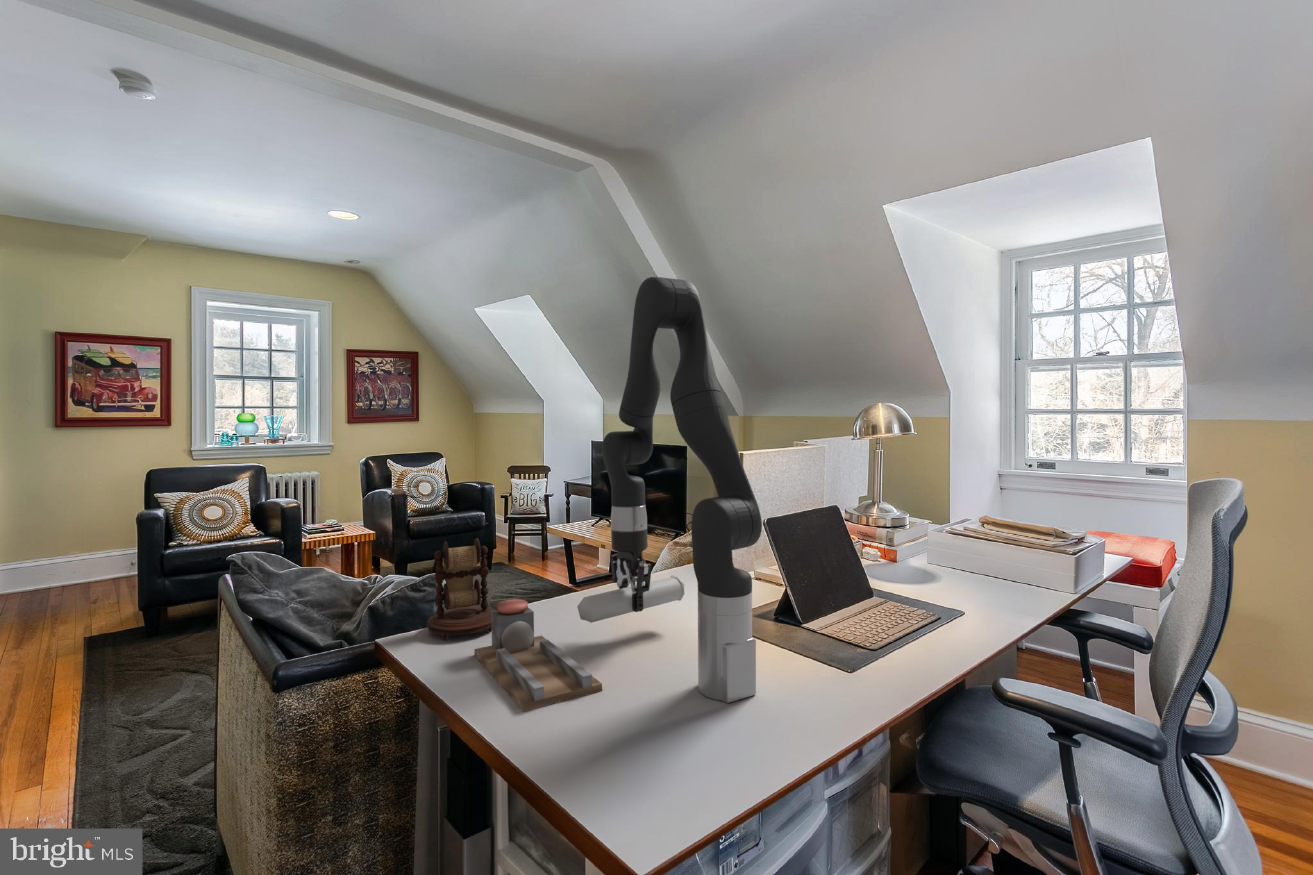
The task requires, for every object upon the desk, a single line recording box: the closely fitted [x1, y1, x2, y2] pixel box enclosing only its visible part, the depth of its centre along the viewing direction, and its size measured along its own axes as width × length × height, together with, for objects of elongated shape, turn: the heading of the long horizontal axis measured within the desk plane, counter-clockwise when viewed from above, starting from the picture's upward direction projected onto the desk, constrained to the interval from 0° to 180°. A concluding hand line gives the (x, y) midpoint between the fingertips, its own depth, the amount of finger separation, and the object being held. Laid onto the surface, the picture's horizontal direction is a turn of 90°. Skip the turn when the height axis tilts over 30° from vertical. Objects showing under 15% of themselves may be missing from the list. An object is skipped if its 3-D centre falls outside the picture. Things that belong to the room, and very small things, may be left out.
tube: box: [576, 575, 685, 624], centre depth 134 cm, size 5×5×25 cm
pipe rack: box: [473, 598, 603, 712], centre depth 118 cm, size 28×14×10 cm, turn 32°
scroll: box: [426, 537, 492, 642], centre depth 141 cm, size 15×15×20 cm
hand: (631, 607), depth 134 cm, fingers closed on tube, 5 cm apart
